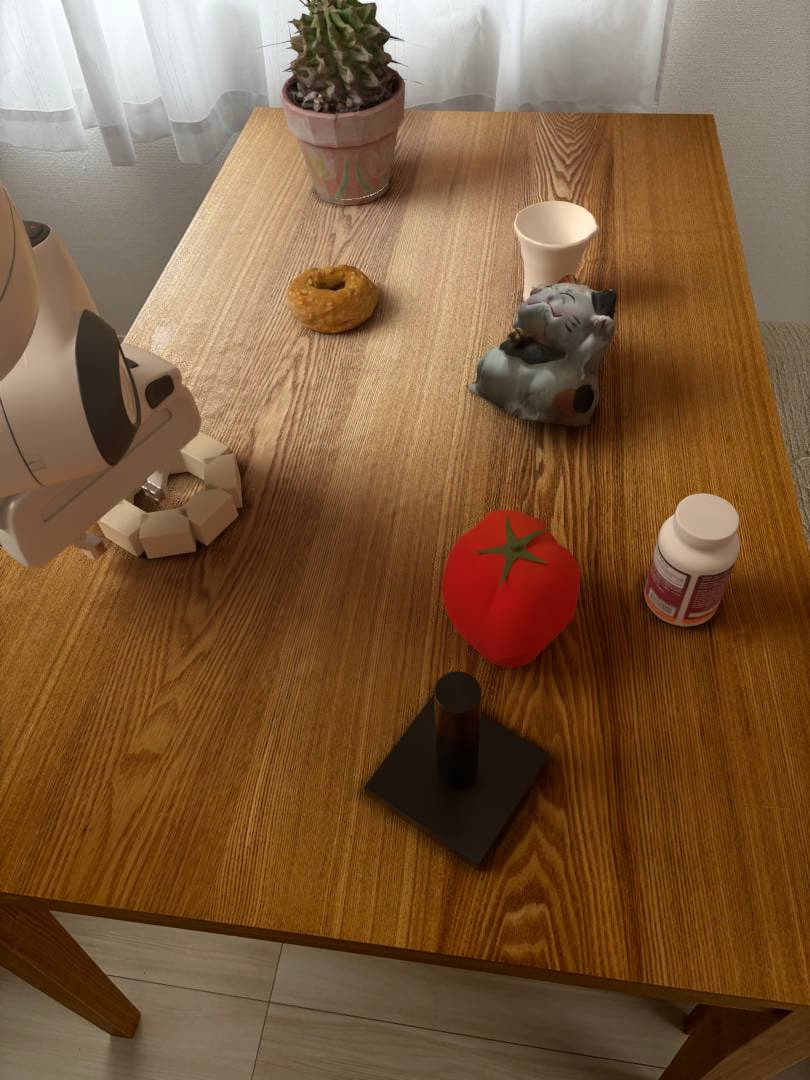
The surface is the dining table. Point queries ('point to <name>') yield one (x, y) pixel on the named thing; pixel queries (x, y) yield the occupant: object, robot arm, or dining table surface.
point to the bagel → (332, 298)
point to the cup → (552, 241)
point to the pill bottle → (693, 560)
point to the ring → (192, 520)
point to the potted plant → (344, 99)
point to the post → (457, 772)
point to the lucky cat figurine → (551, 355)
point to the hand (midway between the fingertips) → (128, 524)
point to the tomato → (510, 587)
